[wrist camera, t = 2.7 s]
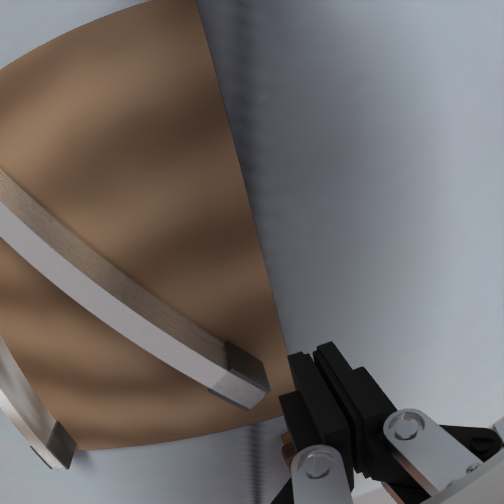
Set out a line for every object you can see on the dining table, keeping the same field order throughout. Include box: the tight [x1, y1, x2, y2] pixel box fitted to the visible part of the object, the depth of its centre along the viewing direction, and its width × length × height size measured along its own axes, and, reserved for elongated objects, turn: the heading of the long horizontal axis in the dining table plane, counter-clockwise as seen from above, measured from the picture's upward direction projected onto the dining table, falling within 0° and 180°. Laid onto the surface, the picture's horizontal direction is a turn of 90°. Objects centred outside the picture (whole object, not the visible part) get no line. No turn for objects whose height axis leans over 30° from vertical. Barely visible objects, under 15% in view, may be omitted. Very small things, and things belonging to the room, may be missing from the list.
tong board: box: [0, 0, 295, 469], centre depth 16 cm, size 30×26×5 cm
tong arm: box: [0, 169, 271, 412], centre depth 16 cm, size 22×2×3 cm, turn 49°
